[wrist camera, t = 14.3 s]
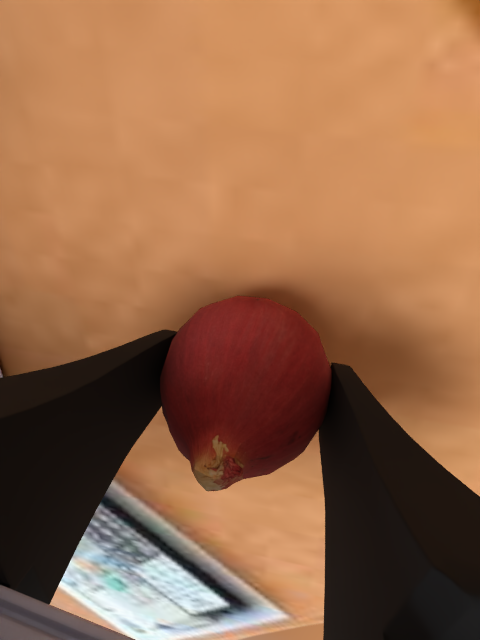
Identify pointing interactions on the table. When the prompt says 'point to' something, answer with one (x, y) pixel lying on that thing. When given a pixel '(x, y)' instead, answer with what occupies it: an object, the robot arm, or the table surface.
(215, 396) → the onion
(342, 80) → the table surface
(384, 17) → the table surface
